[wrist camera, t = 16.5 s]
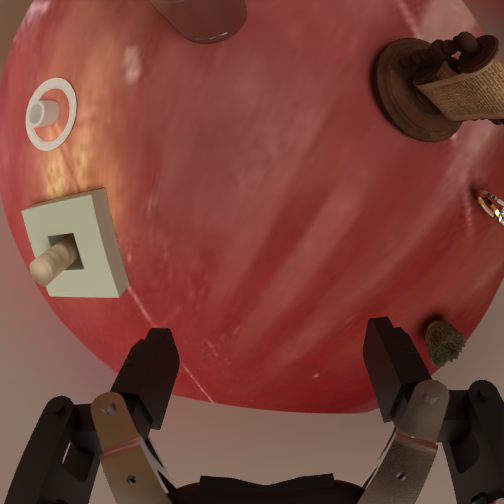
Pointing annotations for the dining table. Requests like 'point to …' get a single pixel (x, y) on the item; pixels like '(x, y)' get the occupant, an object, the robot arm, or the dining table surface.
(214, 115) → the dining table surface
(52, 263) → the birch peg
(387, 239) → the dining table surface
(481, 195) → the ring
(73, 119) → the candle holder
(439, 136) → the scroll
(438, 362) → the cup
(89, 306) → the dining table surface
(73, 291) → the square hole plate
